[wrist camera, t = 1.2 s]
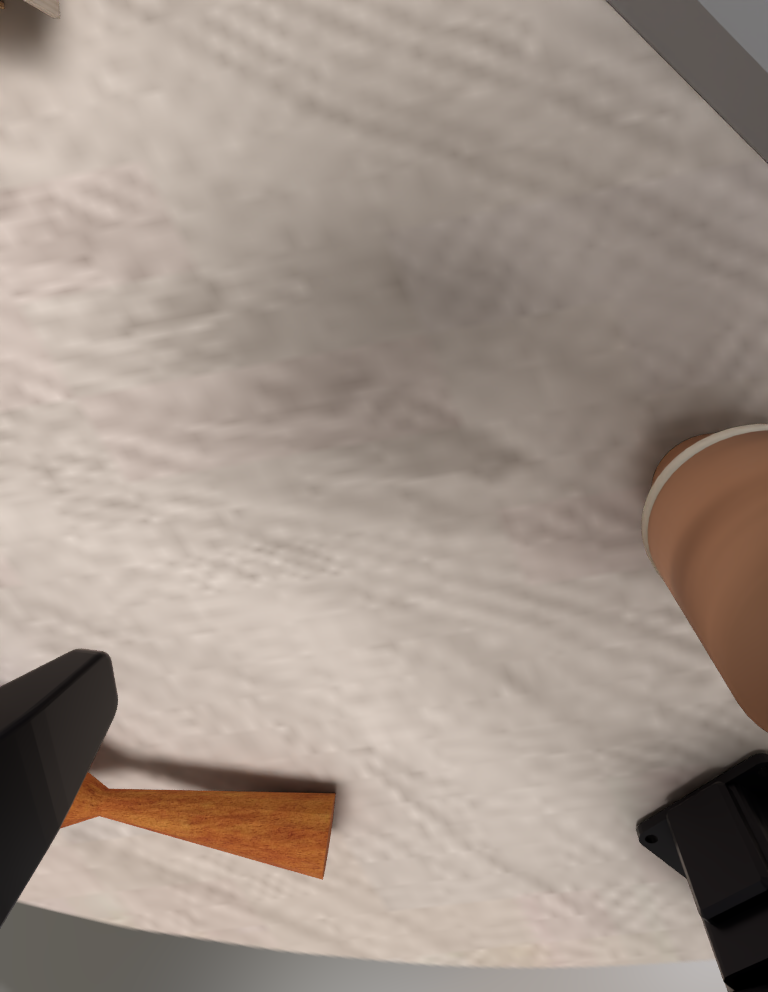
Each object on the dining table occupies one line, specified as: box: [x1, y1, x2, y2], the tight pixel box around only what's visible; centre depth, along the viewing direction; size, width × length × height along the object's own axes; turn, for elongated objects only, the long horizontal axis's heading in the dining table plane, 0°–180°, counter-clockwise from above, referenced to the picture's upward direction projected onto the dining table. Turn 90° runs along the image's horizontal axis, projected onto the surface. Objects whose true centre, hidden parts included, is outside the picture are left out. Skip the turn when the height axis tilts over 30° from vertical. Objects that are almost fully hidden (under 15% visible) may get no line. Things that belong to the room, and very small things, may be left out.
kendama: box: [60, 772, 336, 880], centre depth 26 cm, size 6×6×20 cm
